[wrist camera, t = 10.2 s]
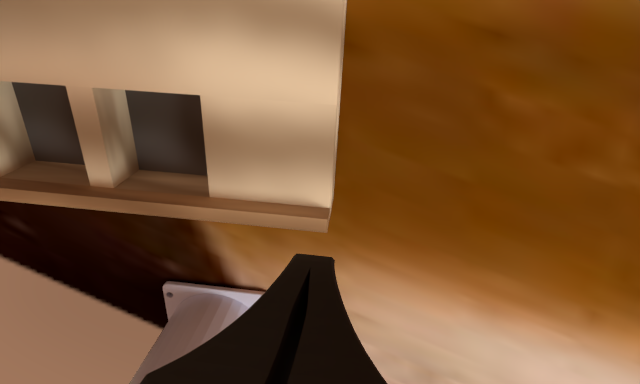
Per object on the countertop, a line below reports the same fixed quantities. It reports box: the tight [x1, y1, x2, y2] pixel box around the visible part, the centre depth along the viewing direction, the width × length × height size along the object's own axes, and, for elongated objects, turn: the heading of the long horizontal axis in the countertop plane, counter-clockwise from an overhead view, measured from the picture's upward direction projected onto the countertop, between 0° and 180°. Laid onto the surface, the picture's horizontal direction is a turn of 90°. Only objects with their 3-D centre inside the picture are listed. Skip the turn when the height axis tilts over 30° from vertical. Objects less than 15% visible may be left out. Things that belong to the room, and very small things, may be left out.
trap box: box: [0, 0, 347, 233], centre depth 20 cm, size 14×26×4 cm, turn 87°
